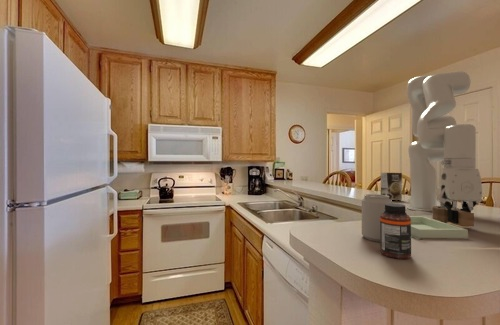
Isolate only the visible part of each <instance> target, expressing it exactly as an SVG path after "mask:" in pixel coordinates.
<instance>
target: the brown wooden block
mask: <svg viewBox="0 0 500 325" xmlns="http://www.w3.org/2000/svg"><path fill="white" fill-rule="evenodd" d="M460 209H461V208H456V210H457V211H458V223H453V222H450V223H453V224H456V225H460V226H463V227H472V228H473V227H475V213H474V212H471V213H470V212H466V211H461V210H460ZM431 212H432V218H431V219H433V220H438V221H443V222H449V221H448V209H442V208H440V205H437V206H433V207H432V211H431Z"/></svg>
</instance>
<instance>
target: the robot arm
mask: <svg viewBox="0 0 500 325" xmlns="http://www.w3.org/2000/svg"><path fill="white" fill-rule="evenodd" d="M470 87H471V77H470V75H469V73H467V72H466V71H463V70H462V71H460V70H459V71H450V72H442V73H441V72H440V73H436V74H435V73H434V74H426V75H420V76H415V77H414V78H411V79H410V80H409V81H408V82H407V85H406V94H407V95H406V96H407V98H408V99H407V100H408V101H409V104H410V107H411V132H412V135H413V136H414V137H415V138H418V139H417V140H416V141H413V142H411V143H410V144H409V145H408V155H409V156H408V157H409V162H410V197H409V199H407V202H408V203H409V204H408V205H407V206H406V208H407V209H408V210H412V211H420V212H421V211H422V212H432V207H433V206H438V204H437V203H439V204H440V203H442V204H443V205H444V206H445V207H446V209H448V221H449V222H453V223H458V211H457V210H456V208H457V207H458V206H457V205H458V202H461V208H459V209H460V210H461V211H466V212H470V213H472V211H473V210H474V207H476V206H477V205H478V204H479V203H481V202H483V186H482V185H483V184H482V179H481V177H482V176H481V173H480V170H479V168H477V167H476V164H477V163H476V161H477V160H476V159H477V158H476V155H477V154H476V153H477V149H476V147H477V146H476V144H477V140H476V137H477V135H476V133H477V131H476V130H477V129H476V127H475V126H474V125H473V124H471V123H469V124H467V123H465V124H459V123H458V124H457V121H456V119H455V118H454V117H453V116H452V115H448V114H450V113H451V112H452V111H453V110H455V108H456V106H457V101H456V99H455V96H454V95H463V94H465V93H466V92H467V91H469V89H470ZM431 162H440V163H441V165H443V168H442V170H441V173H440V178H439V185H438V186H439V188H438V192H439V194H438V197H437V193H438V192H437V184H438V183H437V170H436V168H435V167H434V165H433V164H431ZM445 199H446V200H445Z"/></svg>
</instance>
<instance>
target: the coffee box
mask: <svg viewBox="0 0 500 325" xmlns="http://www.w3.org/2000/svg"><path fill="white" fill-rule="evenodd" d="M402 178H403V173H402V172H381V173H380V195H387V196H390V197H389V199H390V200H402V198H403V192H402V190H403V187H402V186H403V184H402V183H403V181H402V180H403V179H402ZM402 201H403V200H402Z"/></svg>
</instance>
